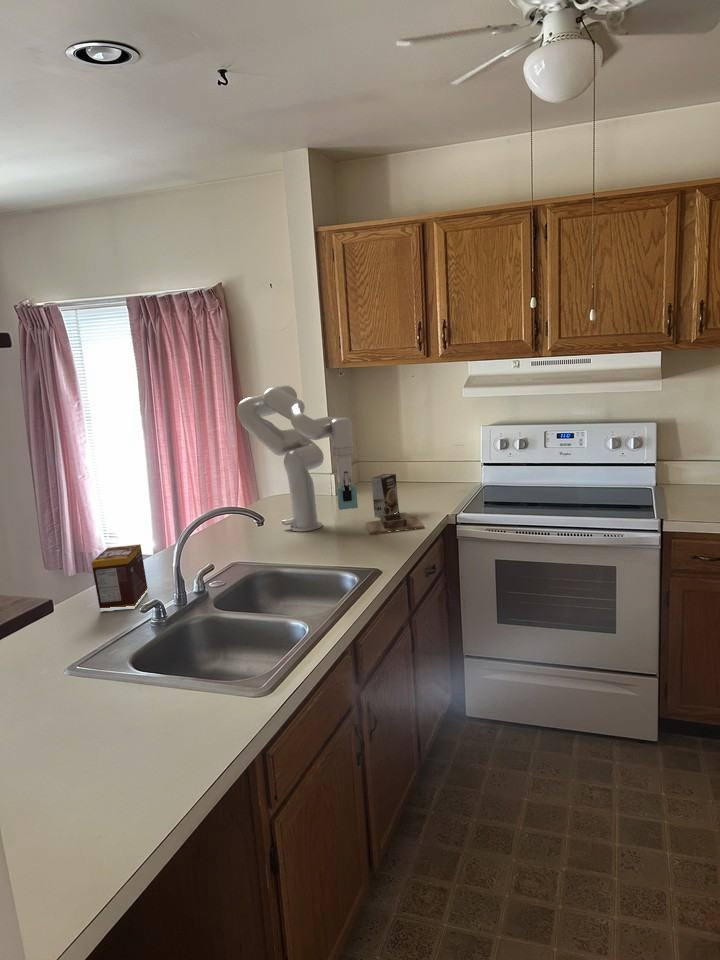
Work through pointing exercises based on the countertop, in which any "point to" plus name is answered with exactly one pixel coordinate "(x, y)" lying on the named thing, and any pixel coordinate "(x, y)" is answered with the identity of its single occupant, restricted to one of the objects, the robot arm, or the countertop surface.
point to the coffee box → (385, 494)
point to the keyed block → (347, 504)
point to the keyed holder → (393, 523)
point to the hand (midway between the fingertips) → (347, 499)
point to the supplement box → (119, 576)
